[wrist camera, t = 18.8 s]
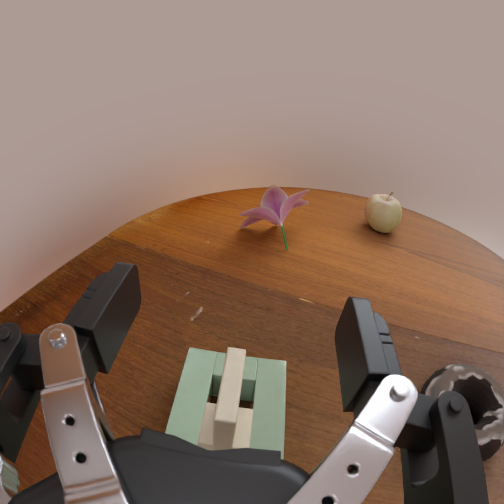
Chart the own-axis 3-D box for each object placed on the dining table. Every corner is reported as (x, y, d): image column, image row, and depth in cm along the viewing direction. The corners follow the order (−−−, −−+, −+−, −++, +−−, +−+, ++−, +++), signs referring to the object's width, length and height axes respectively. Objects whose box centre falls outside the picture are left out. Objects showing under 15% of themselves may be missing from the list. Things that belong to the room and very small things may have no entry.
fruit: (399, 230, 59) (410, 194, 55) (391, 242, 54) (404, 202, 49) (366, 216, 62) (376, 180, 58) (355, 226, 57) (365, 187, 53)
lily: (314, 236, 54) (302, 182, 52) (329, 246, 42) (316, 176, 41) (246, 251, 54) (234, 196, 53) (244, 264, 43) (228, 195, 41)
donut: (417, 480, 18) (443, 462, 16) (401, 378, 28) (418, 354, 26) (504, 461, 17) (529, 441, 15) (479, 378, 27) (497, 356, 25)
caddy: (140, 575, 10) (128, 577, 8) (190, 370, 27) (189, 346, 25) (264, 594, 10) (273, 600, 8) (279, 383, 27) (286, 360, 25)
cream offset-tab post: (201, 495, 17) (190, 416, 10) (208, 455, 20) (208, 343, 13) (234, 500, 17) (259, 426, 10) (239, 459, 20) (265, 351, 13)
